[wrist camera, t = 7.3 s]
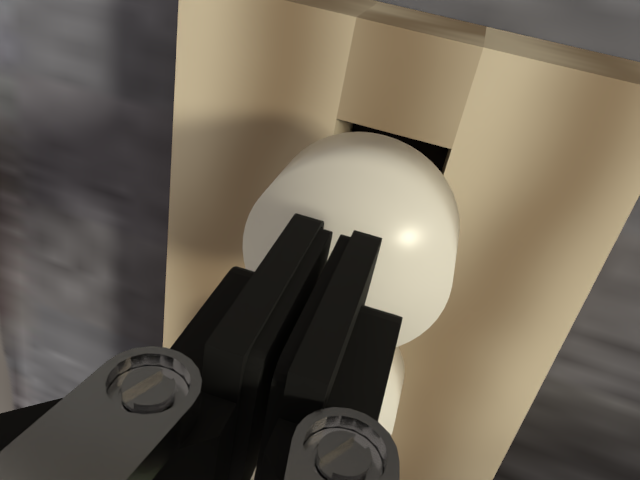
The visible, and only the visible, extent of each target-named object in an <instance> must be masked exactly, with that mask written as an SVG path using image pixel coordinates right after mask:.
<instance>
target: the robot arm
mask: <svg viewBox="0 0 640 480" xmlns="http://www.w3.org/2000/svg"><path fill="white" fill-rule="evenodd" d="M332 234H333V232H332V231H329V230H325V229H324V221H322V220H318V219H315V218H311V217H308V216H304V215H301V214H297V213H295V214H294V215H293V217H292V218H291V220H290V221H289V223H288V224H287V226H286V227H285V228H284V230H283V231H282V233H281V234H280V236H279V237H278V239H277V240H276V242H275V243H274V244H273V246H272V247H271V249H270V250H269V252H268V253H267V255H266V256H265V258H264V259H263V260H262V262H261V263H260V265H259V266H258V268H257V269H256V271H255V272H254V271H251V270H248V269H244V268H241V267H238V266H235V267H232V268H231V269H230V270H229V272H228V273H227V274H226V276H225V277H224V278H223V279H222V281H221V282H220V283H219V285H218V286H217V287H216V289H215V290H214V291H213V293H212V294H211V295H210V297H209V298H208V299H207V300H206V302H205V303H204V304H203V306H202V307H201V308H200V310H199V311H198V312H197V314H196V315H195V316H194V318H193V319H192V320H191V321H190V323H189V324H188V325H187V327H186V328H185V329H184V331H183V332H182V333H181V335H180V336H179V337H178V338H177V340H176V341H175V342H174V344H173V345H172V346H171V348H170V349H169V348H166V347H155V346H147V347H138V348H133V349H130V350H127V351H124V352H121V353H119V354H117V355H116V356H114V357H113V358H111V359H110V360H108V361H107V362H105V363H104V364H103V365H102V366H101V367H99V368H98V369H97V370H96V371H95V372H94V373H92V374H91V375H90V376H89V377H88V378H86V379H85V380H84V381H83V382H82V383H81V384H79V385H78V386H77V387H76V388H75V389H74V390H72V391H71V392H70V393H69V394H68V395H66V396H65V397H64V398H61V399H57V400H53V401H49V402H45V403H41V404H37V405H33V406H29V407H25V408H21V409H17V410H13V411H9V412H5V413H1V414H0V480H251V477H252V475H253V473H254V470H255V468H256V471H255V476H254V480H400V461H399V455H398V450H397V446H396V444H395V442H394V441H393V439H392V437H391V435H390V433H389V432H388V431H387V430H386V429H385V428H384V427H383V426H382V425H381V424H380V423H379V422H378V419H379V415H380V411H381V407H382V403H383V399H384V394H385V390H386V386H387V382H388V378H389V374H390V369H391V365H392V361H393V357H394V353H395V349H396V344H397V340H398V336H399V332H400V328H401V323H402V319H403V317H401V316H398V315H395V314H391V313H388V312H385V311H381V310H378V309H375V308H372V307H368V306H365V302H366V298H367V294H368V291H369V287H370V283H371V280H372V276H373V272H374V269H375V265H376V261H377V258H378V254H379V250H380V246H381V242H382V238H380V237H377V236H374V235H370V234H367V233H363V232H360V231H356V230H354V231H353V233H352V235H351V237H349V236H346V235H342V234H341V235H340V236H339V238H338V240H337V242H336V244H335V246H334V248H333V250H332V252H331V254H330V256H329V258H328V254H329V250H330V245H331V240H332ZM327 259H328V260H327Z"/></svg>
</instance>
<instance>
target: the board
mask: <svg viewBox="0 0 640 480" xmlns="http://www.w3.org/2000/svg"><path fill="white" fill-rule="evenodd" d="M353 123H355V124H358V125H362V126H366V127H370V128H374V129H377V130H381V131H385V132H389V133H392V134H396V135H400V136H404V137H408V138H411V139H415V140H419V141H423V142H427V143H430V144H434V145H438V146H442V147H445V148H449V149H448V153H447V156H446V159H445V162H444V165H443V169H442V172H441V173H442V174H443V176H444V177H445V179H446V180H447V182H448V184H449V186H450V187H451V189H452V191H453V194H454V197H455V199H456V202H457V206H458V211H459V218H460V231H459V240H458V247H457V255H456V262H455V269H454V276H453V284H452V289H451V292H450V296H449V299H448V301H447V303H446V306H445V308H444V310H443V311H442V313H441V314H440V316H439V317H438V319H437V320H436V321H435V322H434V323H433V324H432V325H431V326H430V328H428V329H427V330H426V331H425V332H424V333H422V334H421V335H420V336H418V337H416V338H415V339H413V340H412V341H410V342H408V343H405V344H403V345H401V346H398V347H399V349H400V351H401V354H402V357H403V360H404V367H405V375H404V381H403V386H402V391H401V395H400V400H399V405H398V409H397V414H396V419H395V423H394V428H393V432H392V434H391V437H392V439H393V441H394V442H395V444H396V446H397V450H398V455H399V461H400V480H493V478H494V476H495V474H496V472H497V470H498V468H499V467H500V465H501V463H502V461H503V459H504V457H505V455H506V453H507V451H508V449H509V447H510V445H511V443H512V441H513V439H514V437H515V436H516V434H517V432H518V430H519V428H520V426H521V424H522V422H523V420H524V418H525V416H526V414H527V412H528V410H529V408H530V406H531V404H532V403H533V401H534V399H535V397H536V395H537V393H538V391H539V389H540V387H541V385H542V383H543V381H544V379H545V377H546V375H547V373H548V371H549V370H550V368H551V366H552V364H553V362H554V360H555V358H556V356H557V354H558V352H559V350H560V348H561V346H562V344H563V342H564V340H565V339H566V337H567V335H568V333H569V331H570V329H571V327H572V325H573V323H574V321H575V319H576V317H577V315H578V313H579V311H580V309H581V307H582V306H583V304H584V302H585V300H586V298H587V296H588V294H589V292H590V290H591V288H592V286H593V284H594V282H595V280H596V278H597V276H598V274H599V273H600V271H601V269H602V267H603V265H604V263H605V261H606V259H607V257H608V255H609V253H610V251H611V249H612V247H613V245H614V243H615V242H616V240H617V238H618V236H619V234H620V232H621V230H622V228H623V226H624V224H625V222H626V220H627V218H628V216H629V214H630V212H631V210H632V209H633V207H634V205H635V203H636V201H637V199H638V197H639V195H640V62H636V61H632V60H628V59H623V58H619V57H615V56H611V55H606V54H602V53H598V52H593V51H589V50H585V49H580V48H576V47H572V46H568V45H563V44H559V43H555V42H550V41H546V40H542V39H537V38H533V37H529V36H525V35H520V34H516V33H512V32H507V31H503V30H499V29H494V28H490V27H486V26H482V25H477V24H473V23H469V22H464V21H460V20H456V19H451V18H447V17H443V16H439V15H434V14H430V13H426V12H421V11H417V10H413V9H408V8H404V7H400V6H396V5H391V4H387V3H383V2H378V1H374V0H179V5H178V27H177V48H176V70H175V92H174V114H173V136H172V157H171V179H170V201H169V223H168V245H167V266H166V288H165V310H164V332H163V347H166V348H169V349H170V348H171V346H172V345H173V344H174V342H175V341H176V340H177V338H178V337H179V336H180V335H181V333H182V332H183V331H184V329H185V328H186V327H187V325H188V324H189V323H190V321H191V320H192V319H193V318H194V316H195V315H196V314H197V312H198V311H199V310H200V308H201V307H202V306H203V304H204V303H205V302H206V300H207V299H208V298H209V297H210V295H211V294H212V293H213V291H214V290H215V289H216V287H217V286H218V285H219V283H220V282H221V281H222V279H223V278H224V277H225V276H226V274H227V273H228V272H229V270H230V269H231V268H232V267H235V266H238V267H241V268H244V269H246V268H245V263H244V258H243V234H244V229H245V224H246V222H247V219H248V216H249V213H250V212H251V210H252V208H253V206H254V204H255V203H256V202H257V200H258V199H259V198H260V196H261V195H262V194H263V193H264V192H265V190H266V189H267V188H268V187H269V186H270V185H271V183H272V182H273V181H274V180H275V179H276V178H277V177H278V175H279V174H280V173H281V172H282V171H283V170H284V169H285V167H286V166H287V165H288V164H289V163H290V162H291V160H292V159H293V158H294V157H295V156H296V155H298V154H299V153H300V152H301V151H302V150H303V149H305V148H306V147H308V146H309V145H310V144H312V143H314V142H316V141H318V140H320V139H322V138H325V137H328V136H331V135H335V134H340V133H345V132H352V127H353Z"/></svg>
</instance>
